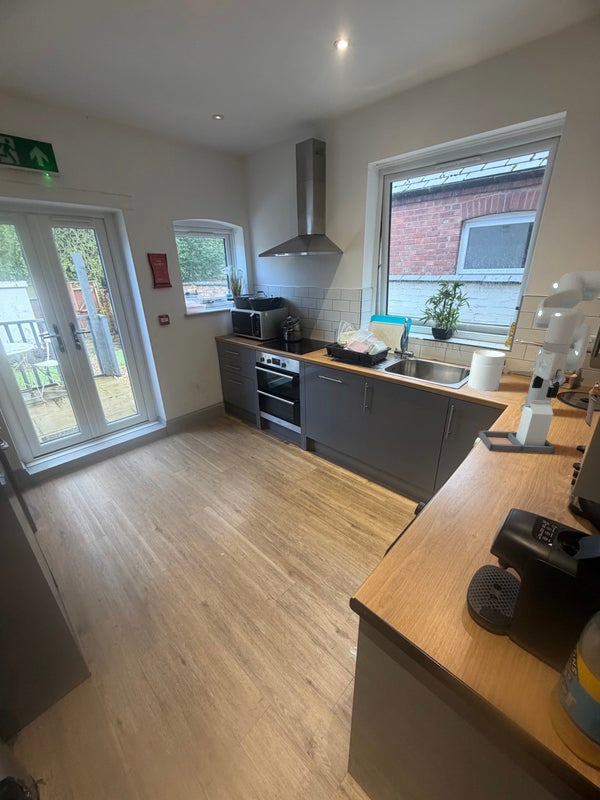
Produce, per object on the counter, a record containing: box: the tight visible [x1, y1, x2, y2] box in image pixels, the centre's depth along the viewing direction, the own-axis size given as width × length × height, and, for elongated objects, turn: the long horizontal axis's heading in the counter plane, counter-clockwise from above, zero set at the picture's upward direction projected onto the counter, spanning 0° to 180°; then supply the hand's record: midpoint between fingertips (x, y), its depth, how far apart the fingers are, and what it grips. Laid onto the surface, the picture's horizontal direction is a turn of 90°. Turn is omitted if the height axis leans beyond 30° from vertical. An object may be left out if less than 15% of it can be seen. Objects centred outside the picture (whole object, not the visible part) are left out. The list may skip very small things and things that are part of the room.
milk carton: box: [516, 400, 554, 446], centre depth 126 cm, size 7×7×19 cm
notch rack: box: [477, 430, 557, 455], centre depth 130 cm, size 12×23×2 cm, turn 82°
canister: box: [467, 349, 507, 392], centre depth 188 cm, size 16×16×20 cm
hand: (543, 392), depth 121 cm, fingers open, 9 cm apart
